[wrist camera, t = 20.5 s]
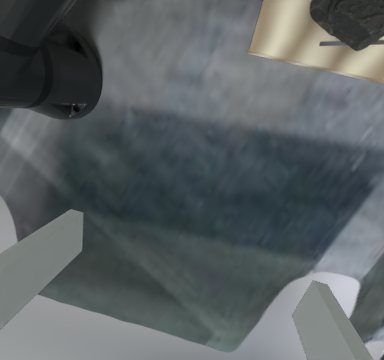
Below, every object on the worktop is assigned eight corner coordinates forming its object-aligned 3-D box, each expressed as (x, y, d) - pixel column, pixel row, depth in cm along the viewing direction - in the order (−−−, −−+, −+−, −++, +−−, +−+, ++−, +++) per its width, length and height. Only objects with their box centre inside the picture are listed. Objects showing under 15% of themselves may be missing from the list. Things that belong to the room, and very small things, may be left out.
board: (247, 53, 30) (249, 50, 28) (283, -70, 25) (287, -82, 23) (423, 92, 28) (434, 91, 27) (497, -32, 23) (515, -41, 22)
